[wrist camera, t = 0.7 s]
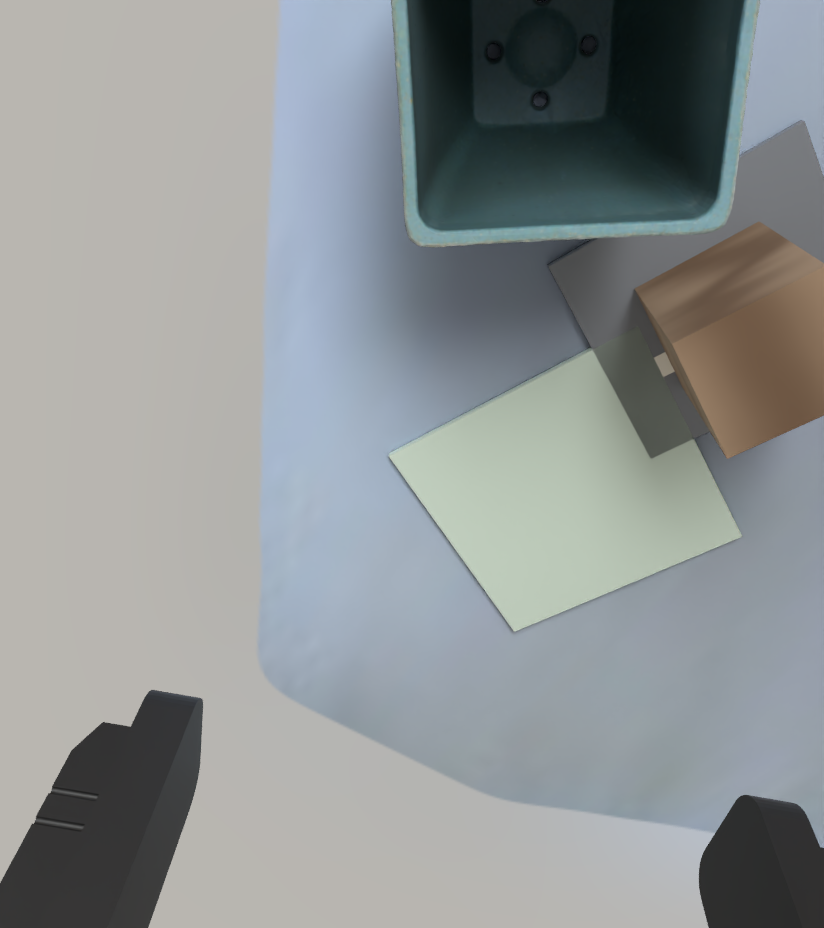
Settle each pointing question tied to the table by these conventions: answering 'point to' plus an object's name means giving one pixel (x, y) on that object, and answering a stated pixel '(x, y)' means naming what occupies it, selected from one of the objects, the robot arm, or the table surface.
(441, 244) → the flower pot
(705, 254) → the walnut block
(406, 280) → the table surface
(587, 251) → the tile
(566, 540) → the coaster
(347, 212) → the table surface
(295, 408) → the table surface
